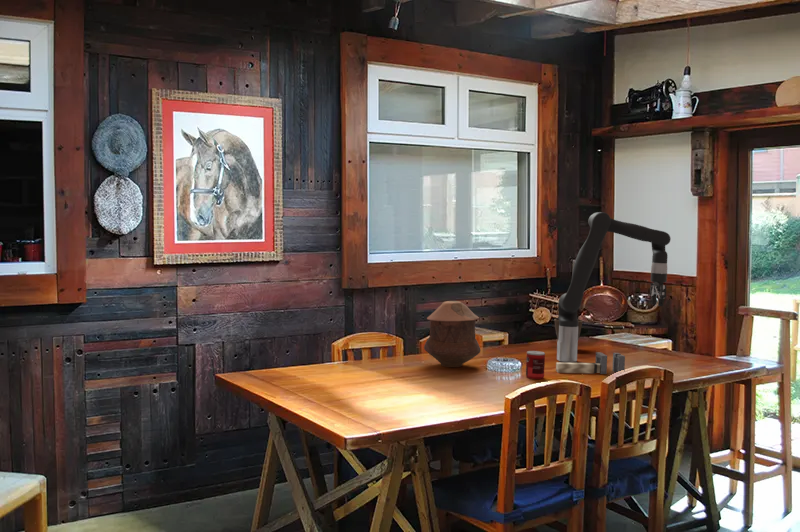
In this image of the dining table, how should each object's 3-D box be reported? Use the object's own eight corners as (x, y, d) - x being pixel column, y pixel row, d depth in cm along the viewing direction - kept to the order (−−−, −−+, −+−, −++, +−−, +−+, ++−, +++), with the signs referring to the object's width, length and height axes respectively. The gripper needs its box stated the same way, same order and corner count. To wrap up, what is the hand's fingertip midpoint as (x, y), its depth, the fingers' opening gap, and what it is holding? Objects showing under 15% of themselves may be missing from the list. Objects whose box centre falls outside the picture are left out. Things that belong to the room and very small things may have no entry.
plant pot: (548, 347, 423) (549, 318, 422) (572, 346, 427) (573, 318, 426) (561, 351, 408) (563, 321, 407) (586, 351, 413) (588, 321, 412)
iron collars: (600, 374, 346) (601, 355, 346) (595, 370, 355) (595, 352, 355) (624, 375, 346) (625, 356, 346) (617, 371, 356) (618, 352, 355)
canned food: (531, 375, 340) (532, 350, 340) (547, 377, 335) (548, 352, 335) (522, 377, 334) (523, 352, 334) (538, 380, 329) (539, 354, 329)
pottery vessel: (489, 365, 360) (491, 301, 359) (462, 373, 339) (464, 305, 338) (442, 359, 375) (443, 297, 373) (413, 366, 354) (414, 300, 352)
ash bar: (557, 372, 348) (558, 363, 348) (555, 370, 352) (556, 362, 352) (602, 373, 349) (602, 364, 348) (599, 371, 353) (599, 363, 353)
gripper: (646, 271, 386) (644, 303, 387) (657, 272, 371) (655, 306, 372) (660, 271, 386) (659, 304, 387) (672, 273, 372) (670, 307, 373)
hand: (657, 305), depth 380 cm, fingers open, 8 cm apart
